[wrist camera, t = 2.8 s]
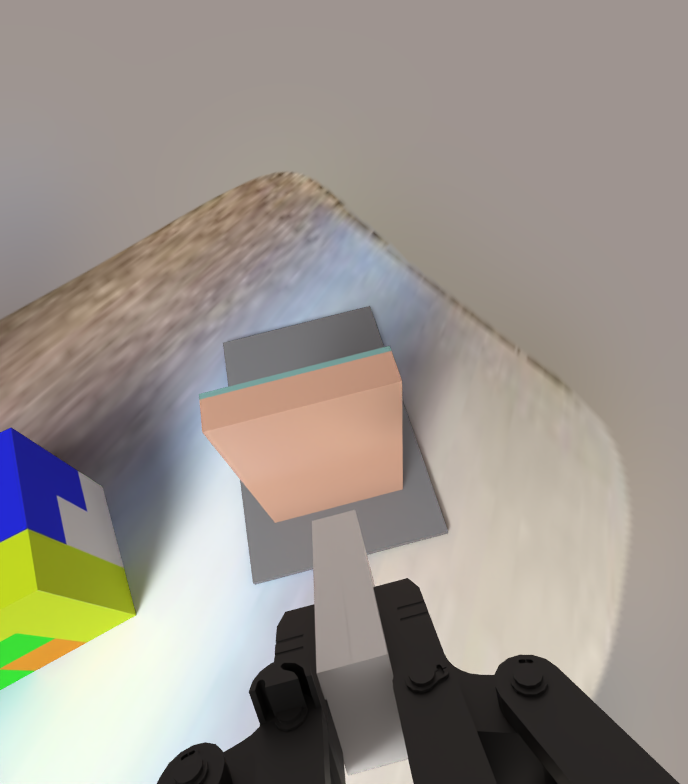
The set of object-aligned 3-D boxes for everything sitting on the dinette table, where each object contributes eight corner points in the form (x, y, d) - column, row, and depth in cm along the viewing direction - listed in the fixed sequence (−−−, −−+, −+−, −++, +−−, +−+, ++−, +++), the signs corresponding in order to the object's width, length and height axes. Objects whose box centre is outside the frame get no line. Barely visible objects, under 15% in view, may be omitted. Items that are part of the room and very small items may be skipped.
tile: (402, 489, 33) (401, 381, 21) (275, 522, 33) (202, 432, 21) (394, 463, 34) (389, 345, 22) (270, 495, 34) (199, 394, 22)
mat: (447, 533, 32) (448, 531, 32) (255, 584, 32) (253, 583, 31) (370, 309, 42) (369, 306, 42) (224, 346, 42) (223, 343, 42)
